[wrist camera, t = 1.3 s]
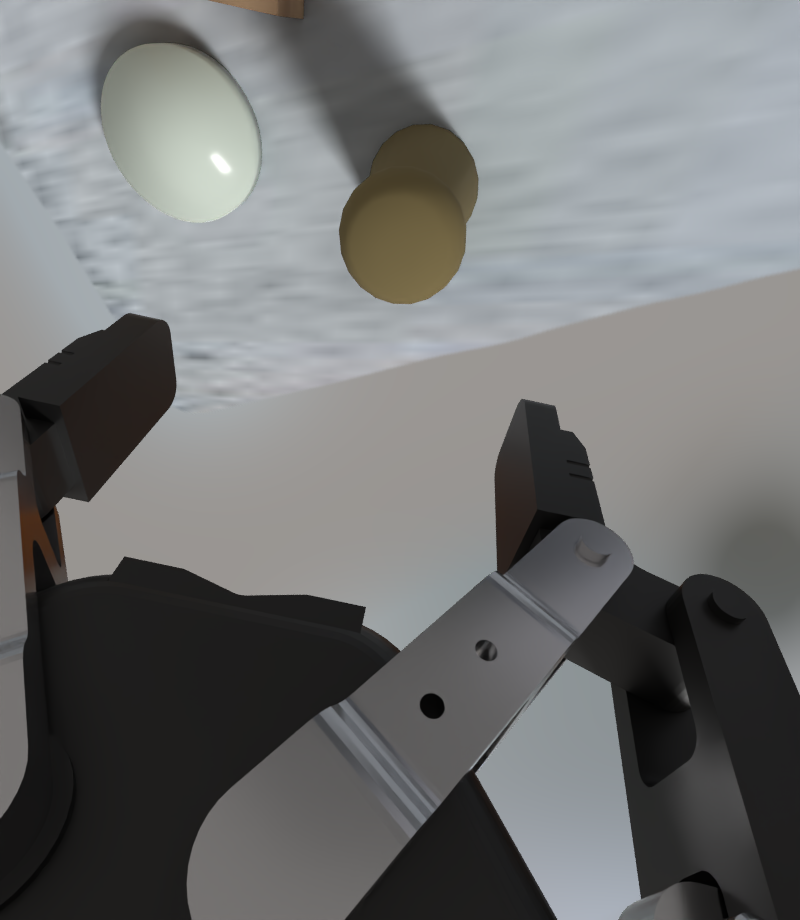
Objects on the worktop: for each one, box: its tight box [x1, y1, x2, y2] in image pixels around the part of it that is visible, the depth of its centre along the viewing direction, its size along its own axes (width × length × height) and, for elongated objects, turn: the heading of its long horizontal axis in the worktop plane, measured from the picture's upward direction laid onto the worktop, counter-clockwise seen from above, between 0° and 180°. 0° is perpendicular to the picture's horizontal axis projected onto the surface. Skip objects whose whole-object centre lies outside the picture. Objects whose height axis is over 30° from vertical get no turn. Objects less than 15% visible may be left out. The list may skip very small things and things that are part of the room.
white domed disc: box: [101, 43, 262, 223], centre depth 28 cm, size 8×8×2 cm
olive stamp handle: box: [339, 124, 478, 304], centre depth 24 cm, size 6×6×11 cm
